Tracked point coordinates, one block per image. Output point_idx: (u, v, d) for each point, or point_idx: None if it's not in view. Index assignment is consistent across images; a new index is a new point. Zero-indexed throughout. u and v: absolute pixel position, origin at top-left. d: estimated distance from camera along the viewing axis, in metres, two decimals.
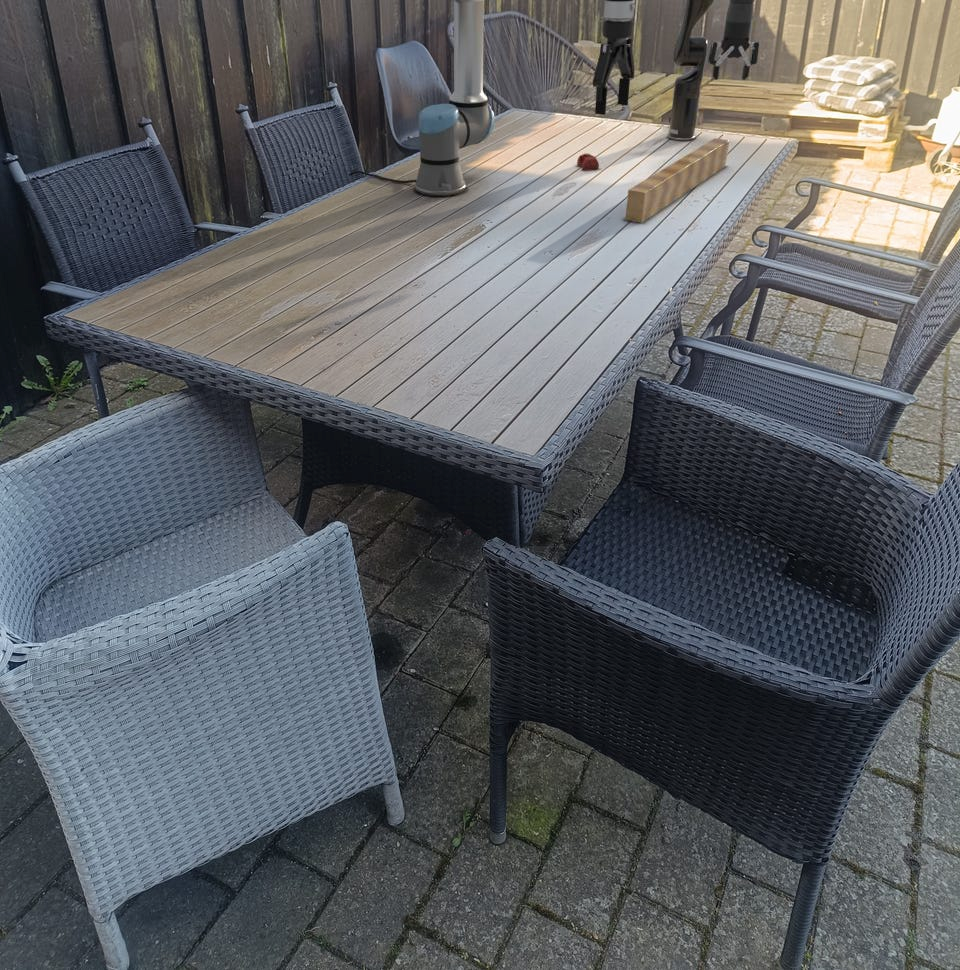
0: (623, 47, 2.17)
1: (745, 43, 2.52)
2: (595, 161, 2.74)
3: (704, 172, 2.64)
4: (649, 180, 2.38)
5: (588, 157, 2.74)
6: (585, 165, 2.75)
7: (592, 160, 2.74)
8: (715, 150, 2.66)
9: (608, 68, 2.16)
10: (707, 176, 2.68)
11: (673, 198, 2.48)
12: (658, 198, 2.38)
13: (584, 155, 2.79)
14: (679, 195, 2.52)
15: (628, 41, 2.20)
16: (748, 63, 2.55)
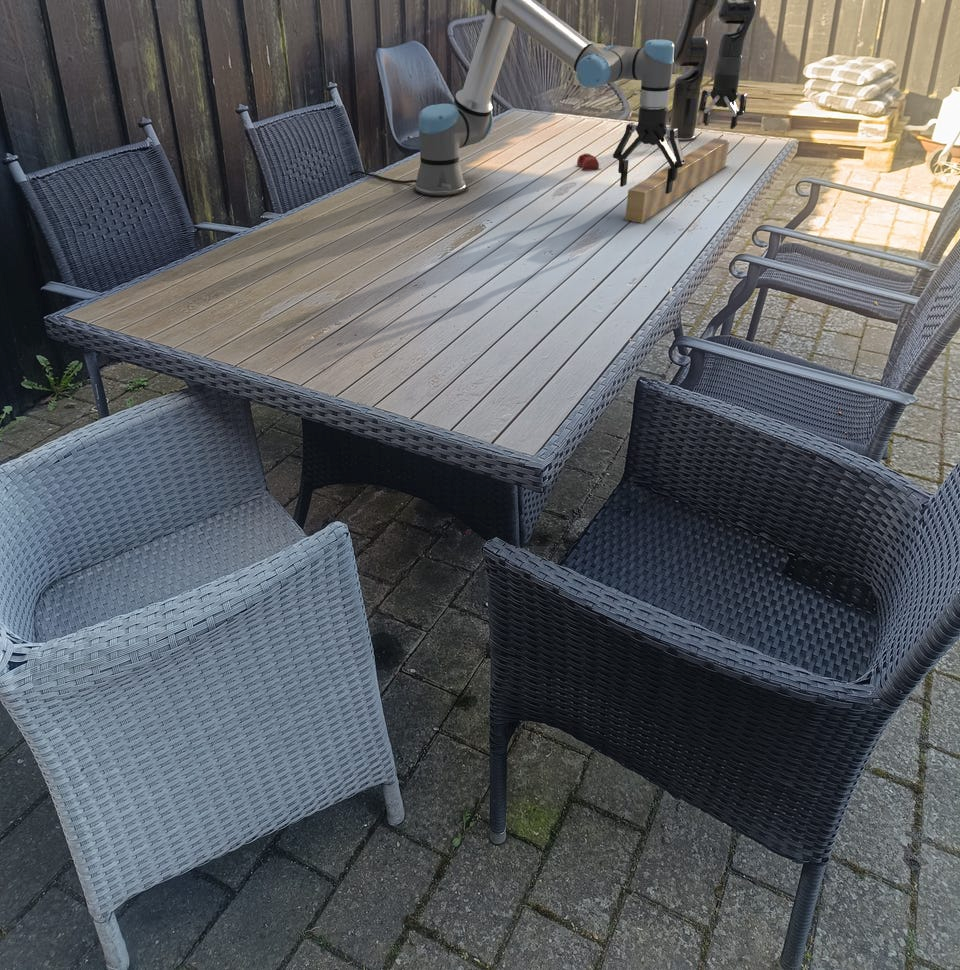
0: None
1: (731, 94, 2.62)
2: (595, 161, 2.74)
3: (704, 172, 2.64)
4: (649, 180, 2.38)
5: (588, 157, 2.74)
6: (585, 165, 2.75)
7: (592, 160, 2.74)
8: (715, 150, 2.66)
9: (670, 150, 2.25)
10: (707, 176, 2.68)
11: (673, 198, 2.48)
12: (658, 198, 2.38)
13: (584, 155, 2.79)
14: (679, 195, 2.52)
15: None
16: (734, 113, 2.64)
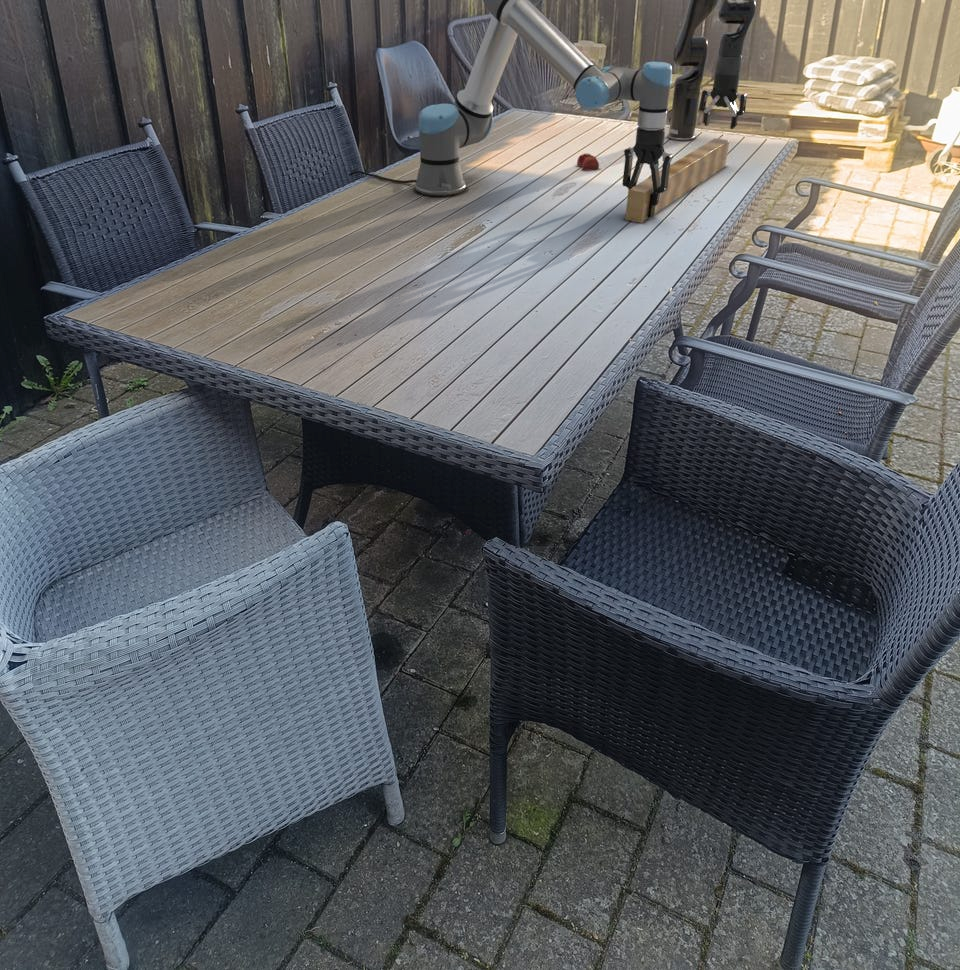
0: None
1: (731, 94, 2.62)
2: (595, 161, 2.74)
3: (704, 172, 2.64)
4: (649, 180, 2.38)
5: (588, 157, 2.74)
6: (585, 165, 2.75)
7: (592, 160, 2.74)
8: (715, 150, 2.66)
9: (658, 174, 2.30)
10: (707, 176, 2.68)
11: (673, 198, 2.48)
12: None
13: (584, 155, 2.79)
14: (679, 195, 2.52)
15: None
16: (734, 113, 2.64)
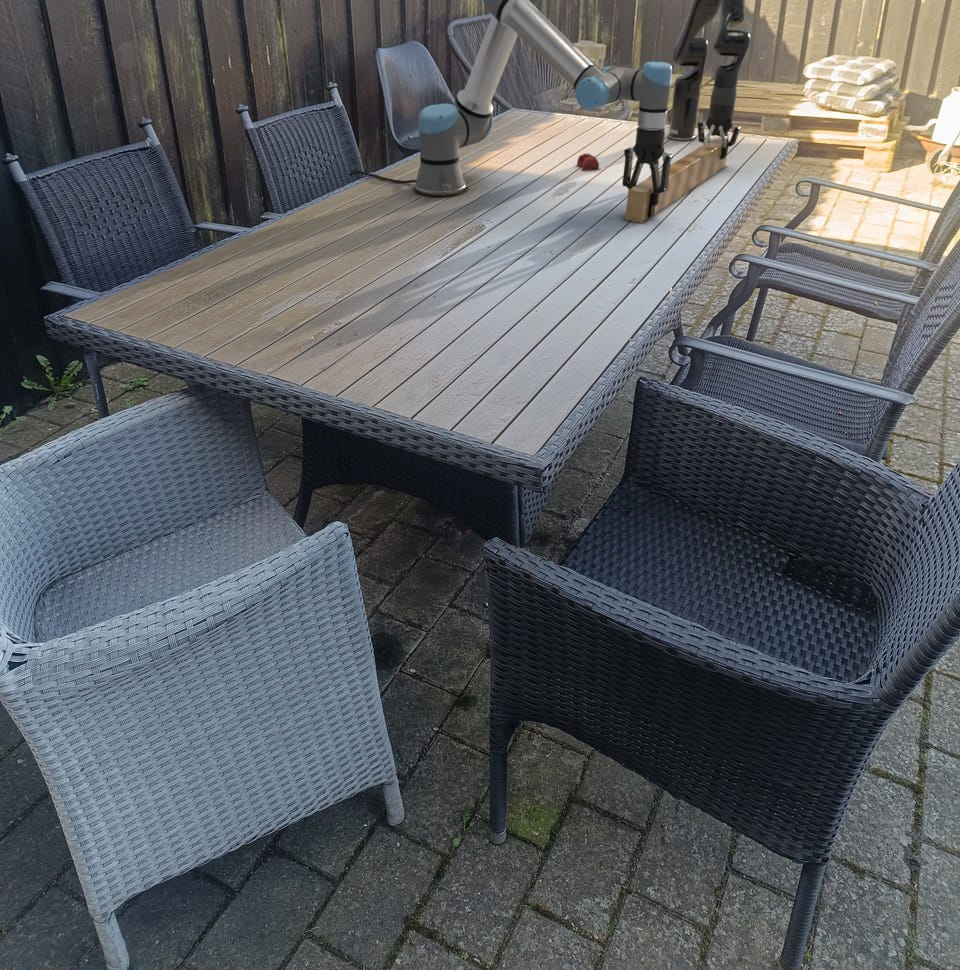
0: None
1: (726, 124, 2.67)
2: (595, 161, 2.74)
3: (704, 172, 2.64)
4: (649, 180, 2.38)
5: (588, 157, 2.74)
6: (585, 165, 2.75)
7: (592, 160, 2.74)
8: (715, 150, 2.66)
9: (658, 174, 2.30)
10: (707, 176, 2.68)
11: (673, 198, 2.48)
12: None
13: (584, 155, 2.79)
14: (679, 195, 2.52)
15: None
16: (724, 144, 2.70)
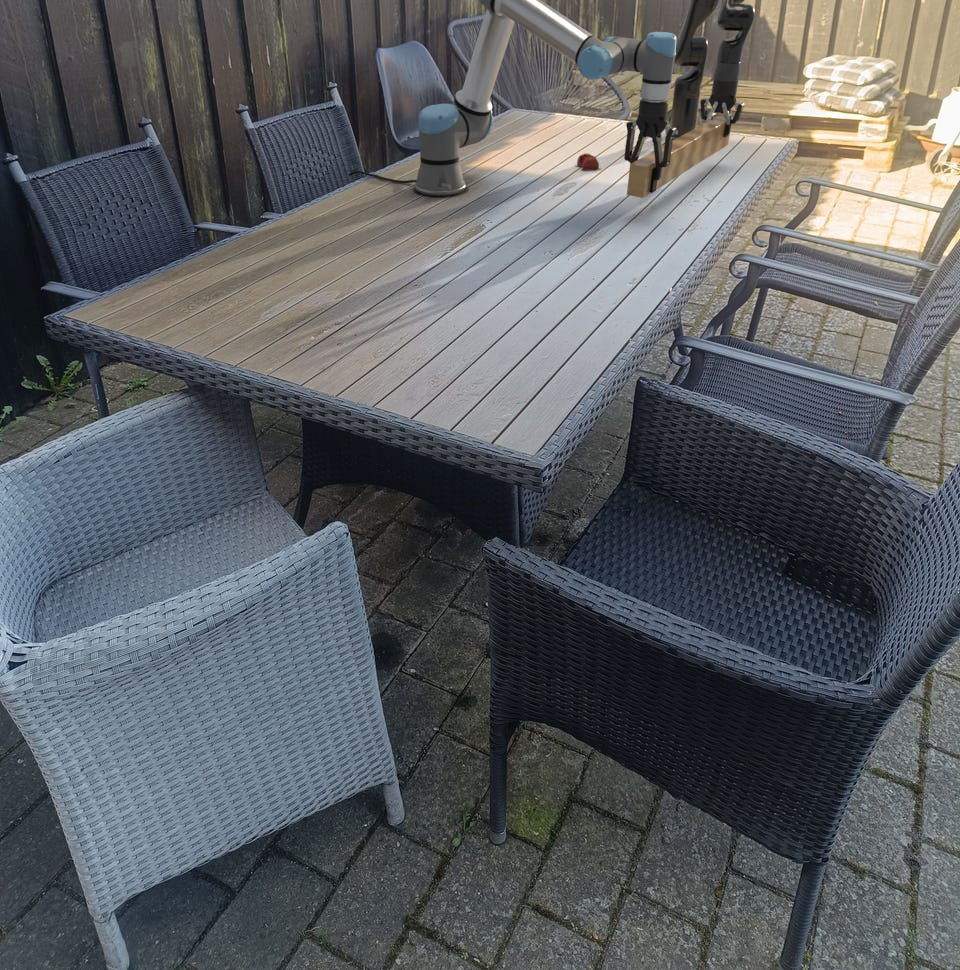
0: None
1: (730, 100, 2.63)
2: (595, 161, 2.74)
3: (707, 149, 2.60)
4: (652, 155, 2.34)
5: (588, 157, 2.74)
6: (585, 165, 2.75)
7: (592, 160, 2.74)
8: (718, 127, 2.63)
9: (661, 148, 2.26)
10: (710, 154, 2.64)
11: (675, 174, 2.44)
12: None
13: (584, 155, 2.79)
14: (681, 171, 2.48)
15: None
16: (727, 122, 2.66)
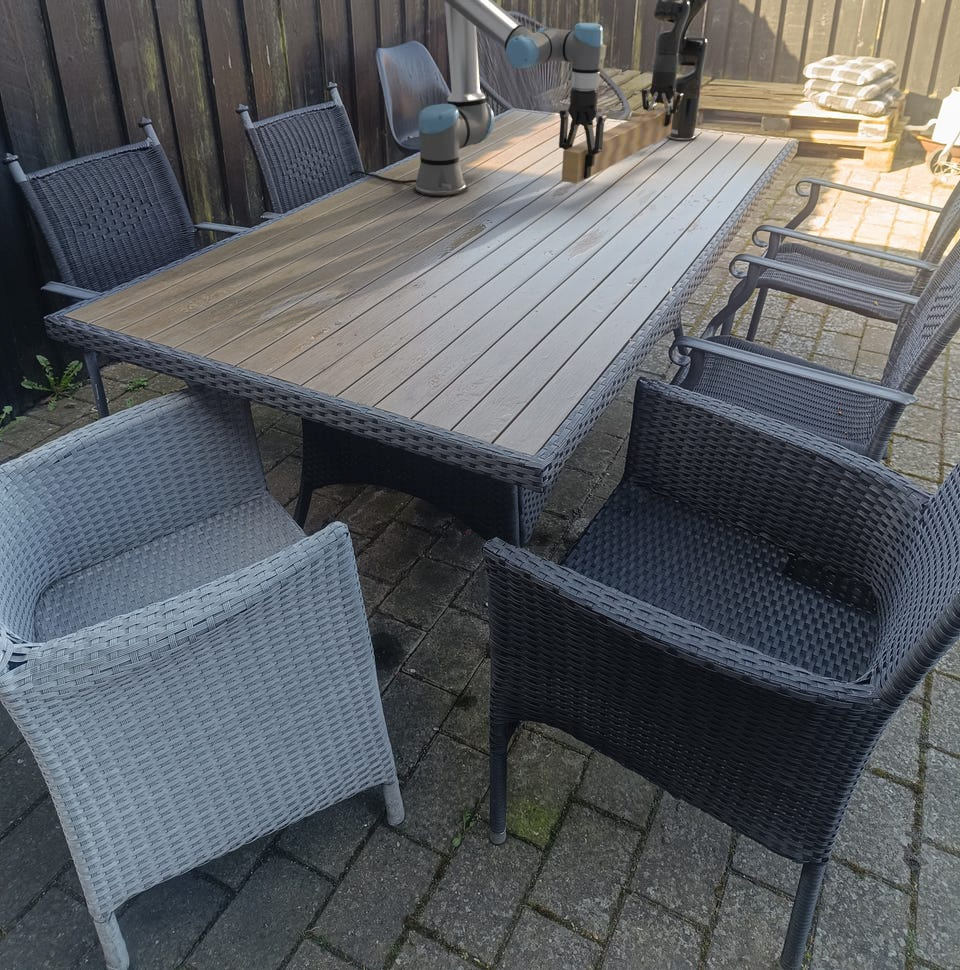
0: None
1: (669, 91, 2.71)
2: None
3: (646, 138, 2.68)
4: (586, 142, 2.42)
5: None
6: None
7: None
8: (658, 117, 2.70)
9: (593, 135, 2.34)
10: (650, 142, 2.72)
11: (611, 162, 2.52)
12: None
13: None
14: (619, 159, 2.56)
15: None
16: (667, 112, 2.74)
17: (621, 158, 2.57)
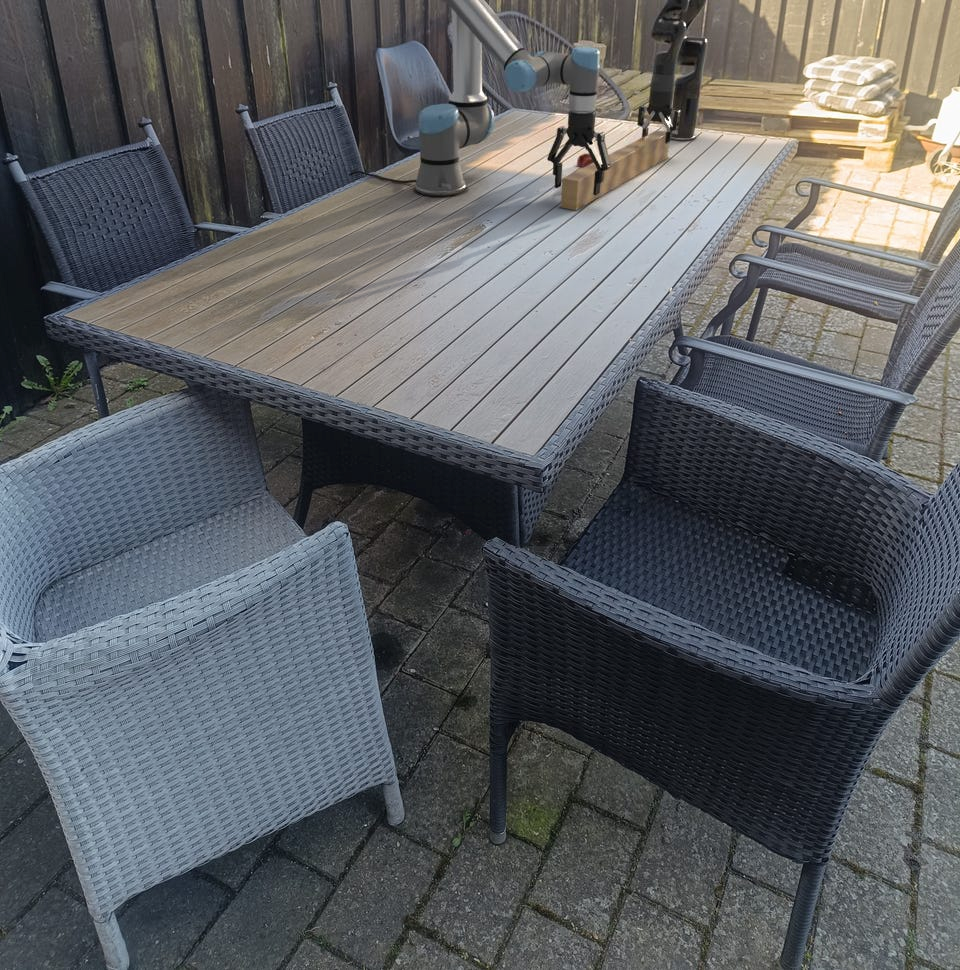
0: None
1: (666, 110, 2.74)
2: None
3: (644, 162, 2.73)
4: (585, 169, 2.47)
5: (588, 157, 2.74)
6: (585, 165, 2.75)
7: (592, 160, 2.74)
8: (655, 141, 2.75)
9: (597, 153, 2.36)
10: (647, 166, 2.77)
11: (609, 187, 2.57)
12: (592, 186, 2.47)
13: (584, 155, 2.79)
14: (617, 184, 2.61)
15: None
16: (668, 129, 2.76)
17: (619, 183, 2.62)
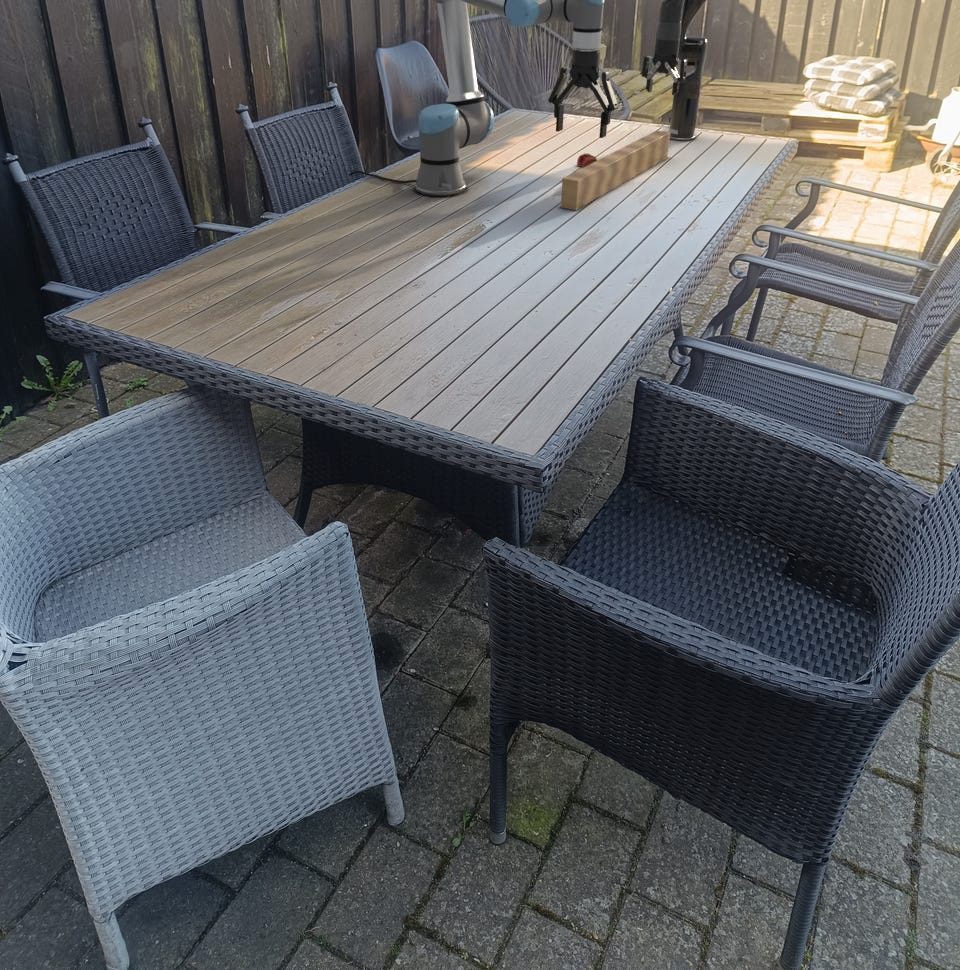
0: None
1: (672, 60, 2.65)
2: (595, 161, 2.74)
3: (644, 162, 2.73)
4: (585, 169, 2.47)
5: (588, 157, 2.74)
6: (585, 165, 2.75)
7: (592, 160, 2.74)
8: (655, 141, 2.75)
9: (603, 93, 2.27)
10: (647, 166, 2.77)
11: (609, 187, 2.57)
12: (592, 186, 2.47)
13: (584, 155, 2.79)
14: (617, 184, 2.61)
15: None
16: (675, 79, 2.68)
17: (619, 183, 2.62)
